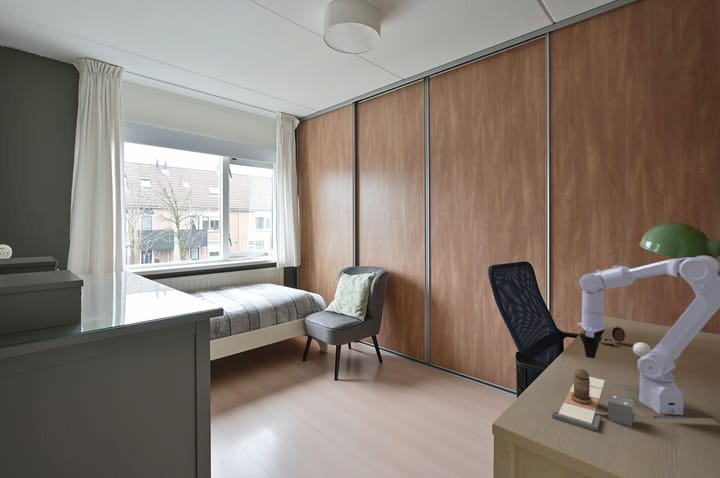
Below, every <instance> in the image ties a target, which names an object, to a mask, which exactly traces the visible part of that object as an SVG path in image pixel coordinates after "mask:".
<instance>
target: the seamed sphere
mask: <svg viewBox="0 0 720 478" xmlns="http://www.w3.org/2000/svg"><path fill="white" fill-rule="evenodd" d="M629 348H632V351H633V353H634V354H635V355H636V356H637V357H639V358H641V357H642V356H645V355H647V354H648V353H649V352H650V351H652V349H651V346H649V344H647V343H646V342H636V343H634V345H632V347H629Z"/></svg>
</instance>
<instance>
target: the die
mask: <svg viewBox="0 0 720 478" xmlns="http://www.w3.org/2000/svg"><path fill="white" fill-rule="evenodd" d="M607 403H608V405H607V421H611V422H614V423H616V424H617V423H618V424H621V425H625V426H627V427H631V428H632V427H633V418H634V399H632V398H628V397H623V396H619V395H616V394H615V395H614V394H609V396H608V401H607Z"/></svg>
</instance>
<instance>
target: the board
mask: <svg viewBox="0 0 720 478" xmlns="http://www.w3.org/2000/svg"><path fill="white" fill-rule="evenodd" d="M589 379H590V394H589V397H591V399H592V402H591V404H589V405H584V404H579V403H577V402H574V401H573V400H572V394H573V393H574V382H573V384H572V386H571V387H570V390H569V391H568V393H567V396H566V398H565V399H564V402H563V403H562V405H561V407H560V410H559V412H556V411H555V412H552V414H551V415H552V417H551V418H552V419H555V420H559V421H562V422H565V423H568V424H571V425H574V426H578V427H581V428H584V429H588V430H591V431H594V432H598V431H599V426H600V424H601V420H602V416H603V414H602V413H596V410H597V408H598V405H599V401H600V400H599V399H600V398H601V393H602V392H603V388H604V384H605V382H606V380H605V379H600V378H598V377H597V378H596V377H592V376H589Z"/></svg>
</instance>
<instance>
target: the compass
mask: <svg viewBox="0 0 720 478" xmlns="http://www.w3.org/2000/svg"><path fill="white" fill-rule="evenodd" d="M611 336H612V338H613V339H609V338H602V339H601V341H600V343H601V344H603V345H605V346H609V347H610V346H611V347H620V345H619V343H621V342H623V341H624V340H625V338H626V333H625V331H624V329H623V328H622V327H620V326H615V327H613V328H612V330H611Z"/></svg>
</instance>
